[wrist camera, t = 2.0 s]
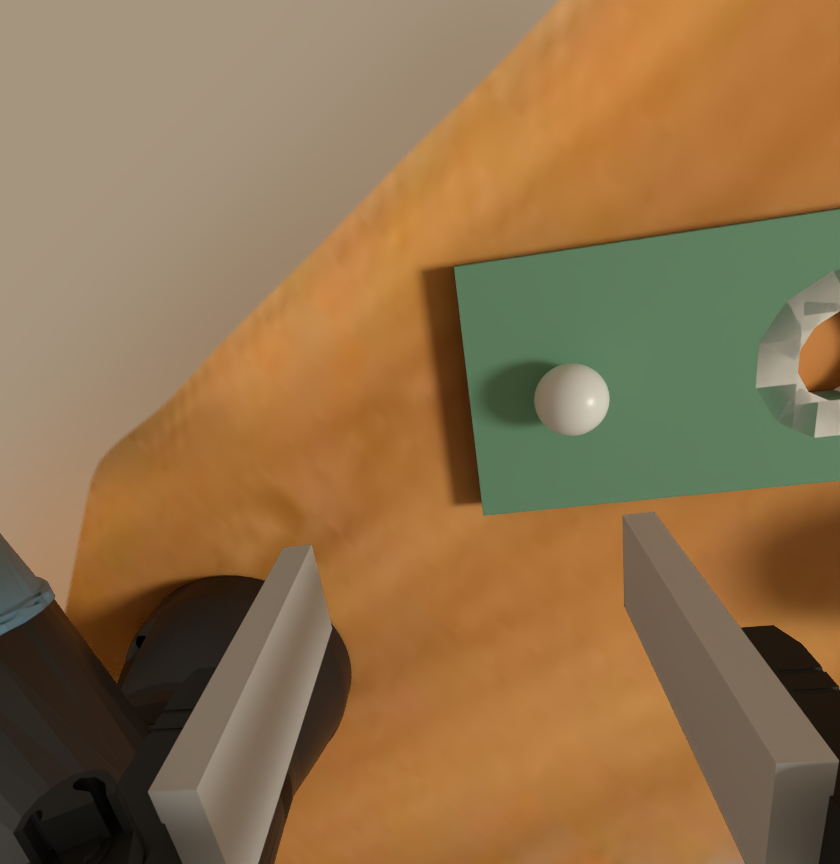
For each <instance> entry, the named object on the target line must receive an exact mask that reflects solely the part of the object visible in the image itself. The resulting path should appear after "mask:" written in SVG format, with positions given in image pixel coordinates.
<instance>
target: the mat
mask: <svg viewBox="0 0 840 864" xmlns="http://www.w3.org/2000/svg"><path fill="white" fill-rule="evenodd" d="M454 272H455V280H456V289H457V297H458V306H459V314H460V323H461V331H462V339H463V348H464V356H465V365H466V373H467V382H468V390H469V398H470V407H471V415H472V424H473V432H474V441H475V449H476V457H477V466H478V474H479V483H480V491H481V500H482V508H483V516H484V515H495V514H505V513H515V512H525V511H535V510H545V509H556V508H566V507H576V506H586V505H596V504H606V503H617V502H627V501H637V500H647V499H657V498H667V497H677V496H688V495H698V494H708V493H718V492H728V491H738V490H749V489H759V488H769V487H779V486H789V485H799V484H810V483H820V482H830V481H840V386H839V387H837V388H836V389H834V390H826V391H817V392H808V390H807V388H806V387H805V385H804V383H803V382H802V380H801V378H800V376H799V375H798V365H799V355H800V349H801V347H802V346H803V344H804V343H805V341H806V340H807V338H808V337H809V335H810V334H811V332H812V331H813V329H814V328H815V327H816V326H817V325H819V324H820V323H822V322H823V321H825V320H827V319H828V318H830V317H831V316H833V315H835V314H836V313H838V312H839V311H840V208H837V209H830V210H823V211H817V212H810V213H803V214H797V215H790V216H783V217H777V218H770V219H763V220H757V221H750V222H743V223H737V224H730V225H723V226H717V227H710V228H703V229H697V230H690V231H683V232H677V233H670V234H663V235H657V236H650V237H643V238H637V239H630V240H623V241H617V242H610V243H603V244H597V245H590V246H583V247H577V248H570V249H563V250H557V251H550V252H543V253H537V254H530V255H523V256H517V257H510V258H503V259H497V260H490V261H483V262H477V263H470V264H463V265H457V266H454ZM569 363H575V364H582V365H585V366H588V367H590V368H592V369H593V370H595V371H596V372H597V373H598V374H599V375H600V376H601V377H602V378H603V379H604V381H605V383H606V385H607V387H608V391H609V398H610V399H609V407H608V410H607V413H606V415H605V417H604V419H603V420H602V421H601V423H600V424H599V425H598V426H597V427H595V428H594V429H593V430H591V431H589V432H587V433H585V434H581V435H576V436H566V435H561V434H558V433H555V432H553V431H552V430H550V429H549V428H547V427H546V426H545V425H544V424H543V423H542V422H541V420H540V419H539V417H538V415H537V413H536V410H535V405H534V396H535V391H536V388H537V385H538V383H539V382H540V380H541V379H542V377H543V376H544V375H545V374H546V373H547V372H549V371H550V370H551V369H553V368H555V367H557V366H560V365H563V364H569Z"/></svg>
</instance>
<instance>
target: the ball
mask: <svg viewBox="0 0 840 864" xmlns="http://www.w3.org/2000/svg"><path fill="white" fill-rule="evenodd" d="M609 399H610V398H609V391H608V387H607V385H606V383H605V381H604V379H603V378H602V377H601V376H600V375H599V374H598V373H597V372H596V371H595V370H593V369H592V368H590V367H588V366H585V365H582V364H575V363H569V364H563V365H560V366H557V367H555V368H553V369H551V370H550V371H549V372H547V373H546V374H545V375H544V376H543V377H542V379H541V380H540V382H539V383H538V385H537V388H536V391H535V396H534V405H535V410H536V413H537V415H538V417H539V419H540V420H541V422H542V423H543V424H544V425H545V426H546V427H547V428H549V429H550V430H552V431H553V432H555V433H558V434H561V435H566V436H576V435H581V434H585V433H587V432H589V431H591V430H593V429H594V428H595V427H597V426H598V425H599V424H600V423H601V421H602V420H603V419H604V417H605V415H606V413H607V410H608V407H609Z"/></svg>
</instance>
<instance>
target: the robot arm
mask: <svg viewBox="0 0 840 864" xmlns="http://www.w3.org/2000/svg"><path fill="white" fill-rule="evenodd" d="M623 566H624V606H625V608H626V611H627V613H628V615H629V617H630V619H631V621H632V623H633V625H634V628H635V630H636V632H637V634H638V636H639V638H640V640H641V643H642V645H643V647H644V649H645V651H646V653H647V655H648V657H649V660H650V662H651V664H652V666H653V668H654V670H655V672H656V675H657V677H658V679H659V681H660V683H661V685H662V687H663V689H664V692H665V694H666V696H667V698H668V700H669V702H670V704H671V707H672V709H673V711H674V713H675V715H676V717H677V719H678V721H679V724H680V726H681V728H682V730H683V732H684V734H685V736H686V739H687V741H688V743H689V745H690V747H691V749H692V751H693V753H694V756H695V758H696V760H697V762H698V764H699V766H700V768H701V770H702V773H703V775H704V777H705V779H706V781H707V783H708V785H709V788H710V790H711V792H712V794H713V796H714V798H715V800H716V802H717V805H718V807H719V809H720V811H721V813H722V815H723V817H724V820H725V822H726V824H727V826H728V828H729V830H730V832H731V834H732V837H733V839H734V841H735V843H736V845H737V847H738V849H739V852H740V854H741V856H742V858H743V860H744V862H745V864H840V690H839V686H838V685H837V684H836V683H835V682H834V681H833V679H832V678H831V677H830V676H829V675H828V674H827V672H823V670H822V667H821V666H820V664H819V663H818V662H817V661H816V660H815V659H814V657H813V656H812V655H811V654H810V653H809V652H808V651H807V649H806V648H805V647H804V646H803V645H802V644H801V643H800V642H798V641H797V640H795V639H793V638H792V637H790V636H789V635H787V634H786V633H784V632H783V631H781V630H780V629H778V628H777V627H775V626H774V625H771V626H757V627H743V628H740V627H739V625H738V624H737V623H736V621H735V620H734V619H733V617H732V616H731V614H730V613H729V612H728V610H727V609H726V608H725V606H724V605H723V604H722V602H721V601H720V600H719V598H718V597H717V596H716V594H715V593H714V592H713V590H712V589H711V588H710V586H709V585H708V584H707V582H706V581H705V579H704V578H703V577H702V575H701V574H700V573H699V571H698V570H697V569H696V567H695V566H694V565H693V563H692V562H691V561H690V559H689V558H688V557H687V555H686V554H685V553H684V551H683V550H682V549H681V547H680V546H679V544H678V543H677V542H676V540H675V539H674V538H673V536H672V535H671V534H670V532H669V531H668V530H667V528H666V527H665V526H664V524H663V523H662V522H661V520H660V519H659V518H658V516H657V515H656V514H655V512H648V513H637V514H627V515H623ZM54 598H55V594H54V593H53V591H52V589H51V587H50V585H49V584H48V582H47V581H46V580H44V579H42V578H40V577H36V576H35V575H34V574H33V572H32V571H31V570H30V569H29V568H28V566H27V565H26V564H25V563H24V562H23V560H22V559H21V558H20V557H19V556H18V554H17V553H16V552H15V551H14V550H13V548H12V547H11V546H10V545H9V544H8V542H7V541H6V540H5V539H4V538H3V536H2V535H1V534H0V864H274V862H275V859H276V855H277V852H278V848H279V844H280V841H281V837H282V834H283V830H284V826H285V823H286V820H287V816H288V813H289V809H290V806H291V803H292V800H293V797H294V795H295V793H296V791H297V790H298V788H299V787H300V785H301V784H302V782H303V781H304V779H305V778H306V777H307V775H308V774H309V772H310V771H311V769H312V767H313V766H314V764H315V763H316V761H317V760H318V758H319V757H320V755H321V753H322V752H323V750H324V749H325V747H326V745H327V744H328V742H329V741H330V740H331V738H332V737H333V735H334V734H335V732H336V731H337V729H338V727H339V725H340V722H341V720H342V717H343V715H344V711H345V707H346V703H347V699H348V694H349V690H350V685H351V664H350V659H349V655H348V652H347V649H346V647H345V644H344V642H343V640H342V638H341V637H340V635H339V633H338V632H337V630H336V629H335V627H334V626H333V625H332V624H331V622H330V618H329V614H328V610H327V605H326V601H325V597H324V593H323V589H322V585H321V581H320V577H319V573H318V569H317V565H316V561H315V557H314V553H313V549H312V545H303V546H293V547H284V548H283V550H282V552H281V553H280V555H279V557H278V559H277V561H276V562H275V564H274V566H273V568H272V570H271V571H270V573H269V575H268V577H267V579H266V580H265V582H264V581H260V580H256V579H250V578H243V577H216V578H209V579H204V580H200V581H196V582H193V583H190V584H188V585H186V586H183V587H181V588H179V589H178V590H176V591H174V592H173V593H171V594H170V595H169V596H167V597H166V598H165V599H164V600H163V601H162V602H161V603H160V604H159V605H158V606H157V607H156V608H155V610H154V611H153V612H152V613H151V615H150V616H149V617H148V618H147V620H146V621H145V622H144V623H143V625H142V626H141V627H140V629H139V630H138V632H137V633H136V635H135V637H134V639H133V641H132V643H131V645H130V648H129V651H128V654H127V657H126V662H125V665H124V667H123V669H122V672H121V675H120V678H119V681H118V684H116V682H115V681H114V680H113V678H112V677H111V676H110V674H109V673H108V671H107V670H106V669H105V667H104V666H103V665H102V663H101V662H100V661H99V659H98V658H97V657H96V655H95V654H94V652H93V651H92V650H91V648H90V647H89V646H88V644H87V643H86V642H85V640H84V639H83V637H82V636H81V635H80V633H79V632H78V631H77V629H76V628H75V627H74V625H73V624H72V623H71V621H70V620H69V618H68V617H67V616H66V614H65V613H64V612H63V610H62V609H61V608H60V606H59V605H58V604H57V602H56V601H55V599H54Z"/></svg>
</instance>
